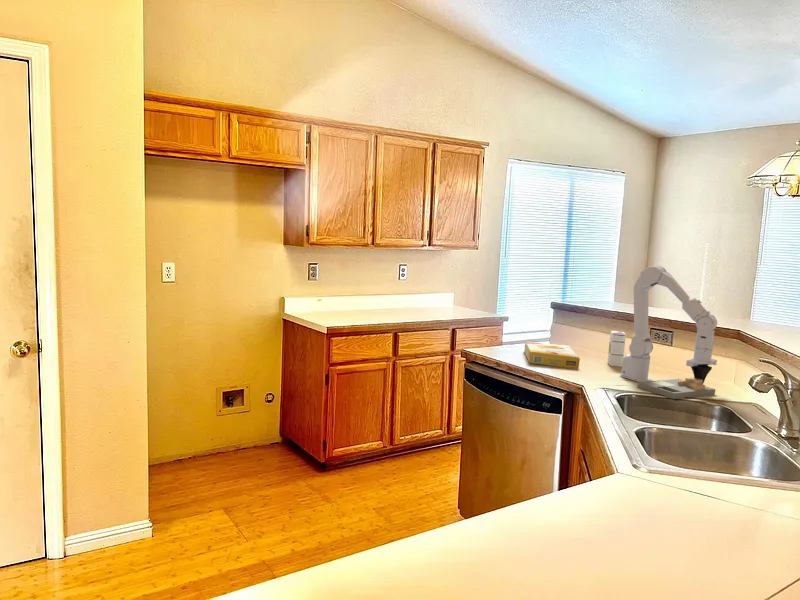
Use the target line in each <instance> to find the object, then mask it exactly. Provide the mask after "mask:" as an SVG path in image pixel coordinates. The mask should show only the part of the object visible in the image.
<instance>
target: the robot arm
mask: <svg viewBox="0 0 800 600" xmlns="http://www.w3.org/2000/svg"><path fill="white" fill-rule="evenodd" d="M637 278H638V279H637V280H636V282H635V283H634V285H633V334H632V336H631V342H630V344H629V347H628V350H629V353H630V354H629V353H627V354H626V355H624V359H623V363H622V367H621V374H619V377H621V378H625V379H628V380H631V381H634V382H637V383H638V382H647V381H654V380H653V379H652V378H649V372H650V364H651V363H650V362H651V355H650V354H651V353H652V351H653V349H654V345H653V344H654V343H653V342H652V339H651V337H652V336H651V333H650V332H649V329H650V328H649V291H650V290H651V289H652V288H653V287H655V286H657V285H658V286H662V287H665V288H666V289H668V290H669V291H670V292H671V293H672V294H673V295H674V296H675V297H676V299H678V300H679V301H680V302H681V303H682V304H681V305H682V307H681V308H682V310H683V311H684V312H685V314H686V315H688V317H689V318H690V319H691V320H692V321H693V322H695V327H696V330H697V331H696V335H695V342H694V343H695V344H694V351H693V358H691V359H688V360H686V362H685V363H686V364H685V366H686V367H690V369H691V371H692V373H693V378H697V379H701V380H703V382H702V385H704V383H705V380H706V378H707V376H708V374H709V373H710V372H711V370H712V366H717V361H718V360H717V359H714V358H712V355H713V347H714V341H715V340H714V339H715V329H716V327H717V325H718V320H717V318H716V316H715V315H713V314H711V312H710V311H709V310H707V309H706V308H705V307H704V306H703V305H702V301H701V299H697V298H696V297H690V296H689V295H688V293H687V292H686V291H685V290H684V288H683V287H682V286H681V285H680V283H679V282H678V281H677V280H676V279H675V278H674V276H672V274H671V273H670V272H668V271H667V270H666V268H665V267H663V266H659V265H657V266H653V265H651V266H647V267H645V268H644V269H643V270H642V271H641V272H640V274H639V276H638V277H637ZM711 365H712V366H711Z"/></svg>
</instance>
